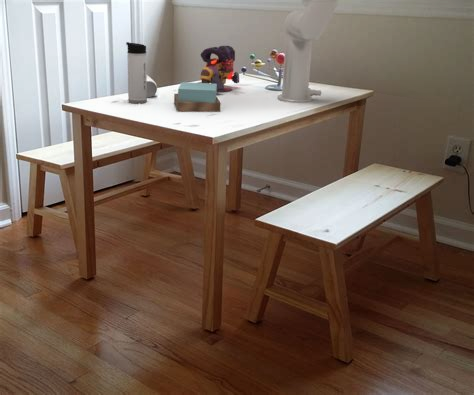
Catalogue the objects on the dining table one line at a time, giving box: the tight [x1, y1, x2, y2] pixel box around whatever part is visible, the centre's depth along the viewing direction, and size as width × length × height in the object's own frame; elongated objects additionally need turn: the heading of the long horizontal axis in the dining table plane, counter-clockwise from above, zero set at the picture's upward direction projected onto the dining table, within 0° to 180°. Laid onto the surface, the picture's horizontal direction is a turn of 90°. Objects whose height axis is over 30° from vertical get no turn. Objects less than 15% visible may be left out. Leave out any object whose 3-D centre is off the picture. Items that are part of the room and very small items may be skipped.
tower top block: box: [177, 81, 218, 103], centre depth 209 cm, size 12×12×4 cm
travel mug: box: [125, 41, 148, 105], centre depth 213 cm, size 6×7×20 cm
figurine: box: [197, 45, 240, 93], centre depth 239 cm, size 20×14×17 cm
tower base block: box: [173, 93, 221, 113], centre depth 211 cm, size 14×14×4 cm
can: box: [147, 74, 158, 98], centre depth 227 cm, size 6×6×12 cm
